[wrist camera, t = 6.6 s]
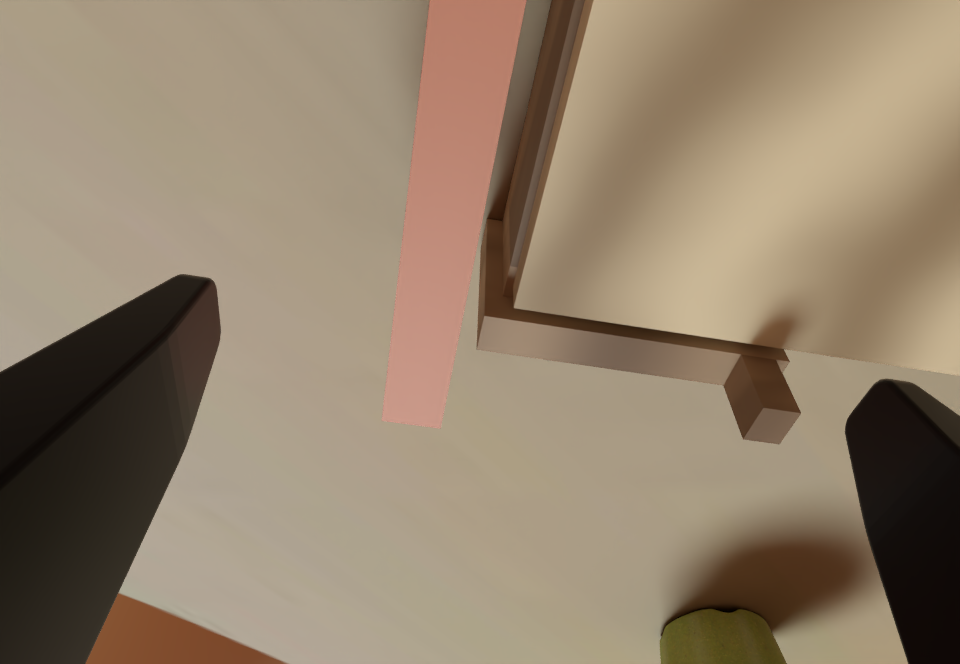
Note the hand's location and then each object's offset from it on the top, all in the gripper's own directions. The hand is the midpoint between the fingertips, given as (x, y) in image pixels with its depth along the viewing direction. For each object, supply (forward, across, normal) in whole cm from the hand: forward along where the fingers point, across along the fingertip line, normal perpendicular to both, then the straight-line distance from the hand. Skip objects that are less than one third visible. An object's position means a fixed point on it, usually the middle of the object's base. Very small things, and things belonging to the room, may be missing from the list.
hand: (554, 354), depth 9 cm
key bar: (+7, +2, 0) cm, 7 cm away
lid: (+8, -10, 0) cm, 13 cm away
